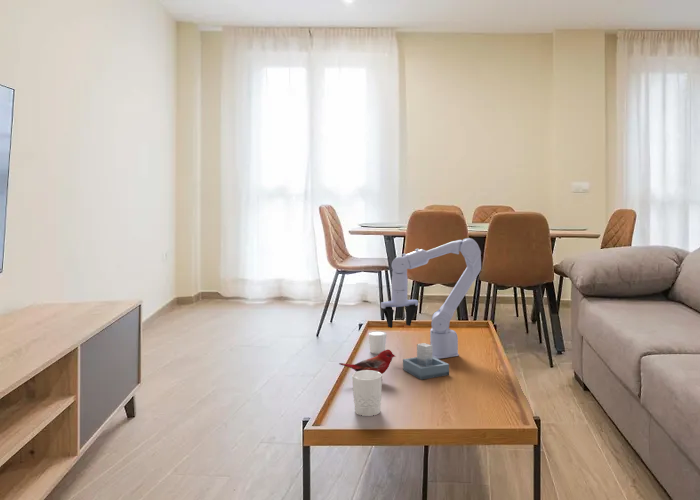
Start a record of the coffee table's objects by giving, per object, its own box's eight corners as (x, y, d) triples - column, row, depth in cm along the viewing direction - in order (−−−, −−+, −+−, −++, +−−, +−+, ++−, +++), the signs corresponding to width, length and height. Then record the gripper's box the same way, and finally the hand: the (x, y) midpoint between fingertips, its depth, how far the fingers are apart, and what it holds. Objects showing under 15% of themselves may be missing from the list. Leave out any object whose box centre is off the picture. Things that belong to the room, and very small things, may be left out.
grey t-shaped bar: (423, 365, 172) (423, 341, 171) (436, 369, 167) (436, 345, 166) (412, 368, 169) (412, 344, 168) (425, 372, 164) (425, 348, 163)
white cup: (351, 406, 140) (350, 370, 139) (380, 405, 140) (379, 369, 140) (354, 418, 132) (353, 380, 131) (384, 416, 133) (384, 379, 132)
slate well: (429, 365, 175) (429, 355, 175) (449, 374, 165) (449, 364, 164) (403, 369, 171) (402, 359, 171) (421, 379, 160) (421, 368, 160)
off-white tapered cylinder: (385, 354, 189) (385, 335, 188) (367, 353, 190) (366, 335, 190) (387, 349, 196) (387, 331, 195) (370, 348, 197) (369, 330, 197)
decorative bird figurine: (396, 382, 159) (396, 350, 158) (339, 384, 157) (338, 352, 157) (395, 379, 161) (394, 348, 161) (338, 381, 160) (338, 350, 159)
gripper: (411, 286, 194) (410, 322, 195) (376, 289, 188) (376, 325, 189) (421, 289, 187) (420, 326, 188) (385, 291, 181) (385, 329, 183)
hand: (399, 326), depth 188 cm, fingers open, 7 cm apart
